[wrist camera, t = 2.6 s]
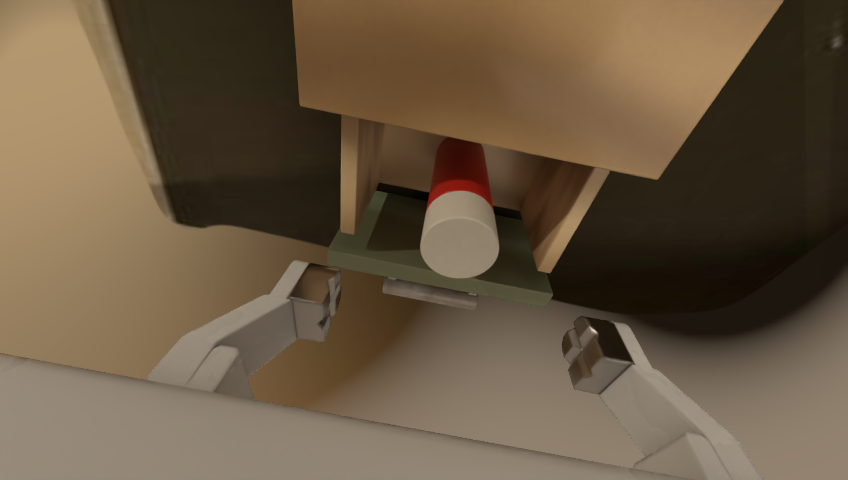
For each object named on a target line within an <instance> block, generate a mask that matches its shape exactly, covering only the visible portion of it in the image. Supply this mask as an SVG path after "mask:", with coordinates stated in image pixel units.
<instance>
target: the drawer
mask: <svg viewBox="0 0 848 480" xmlns="http://www.w3.org/2000/svg"><path fill="white" fill-rule="evenodd" d="M445 138H447V136H442V135H437V134H432V133H427V132H422V131H418V130H413V129H408V128H403V127H398V126H393V125H389V124H384V123H379V122H374V121H369V120H364V119H360V118H355V117H350V116H345V115H341V227H340V229H339V230H338V232H337V234H336V236H335V238H334V239H333V241H332V243H331V245H330V246H329V248H328V250H327V255H328V256H327V258H328V265H330V266H334V267H340V268H345V269H350V270H356V271H360V272H366V273H370V274H376V275H381V276H385V280H384V284H383V293H387V294H392V295H397V296H402V297H407V298H413V299H418V300H423V301H428V302H433V303H438V304H444V305H449V306H454V307H459V308H464V309H469V310H475V309H476V306H477V302H478V295H484V296H489V297H494V298H499V299H505V300H510V301H514V302H519V303H525V304H530V305H535V306H540V307H545V306H546V305H547V303H548V302H549V300H550V299H551V297H552V296H553V293H552V289H551V286H550V283H549V280H548V277H547V274H546V273H551V271H552V269H553V268H554V266H555V264H556V263H557V261H558V259H559V257H560V256H561V254H562V252H563V251H564V249H565V247H566V246H567V244H568V242H569V240H570V239H571V237H572V235H573V234H574V232H575V230H576V229H577V227H578V225H579V223H580V222H581V220H582V218H583V217H584V215H585V213H586V212H587V210H588V208H589V206H590V205H591V203H592V201H593V200H594V198H595V196H596V195H597V193H598V191H599V189H600V188H601V186H602V184H603V183H604V181H605V179H606V178H607V176H608V174H609V172H610V171H611V170H606V169H601V168H596V167H591V166H586V165H582V164H577V163H572V162H567V161H562V160H557V159H553V158H548V157H543V156H538V155H533V154H529V153H524V152H519V151H514V150H509V149H504V148H500V147H495V146H490V145H485V144H482V146H483V149H484V153H485V159H486V166H487V172H488V178H489V184H490V191H491V197H492V203H493V206H498V207H503V208H508V209H513V210H518V211H520V213H521V217H522V220H519V219H514V218H509V217H504V216H499V215H495V222H496V228H497V234H498V240H499V254H498V257H497V259H496V261H495V262H494V264H493V265H492V266H491V267H490V268H489V269H488V270H486V271H485V272H483V273H481V274H479V275H477V276H474V277H470V278H450V277H446V276H443V275H441V274H439V273H437V272H435V271H434V270H432V269H431V268H430V267H429V266H428V265H427V264H426V262H425V261H424V259H423V257H422V255H421V250H420V243H421V237H422V232H423V226H424V220H425V215H426V209H427V203H428V201H425V200H420V199H415V198H410V197H405V196H400V195H395V194H390V193H385V192H380V191H376V189H377V186H378V184H379V182H380V183H385V184H389V185H394V186H399V187H404V188H409V189H414V190H419V191H424V192H430V187H431V181H432V175H433V170H434V164H435V158H436V153H437V149H438V147H439V145H440V144H441V142H442V141H443V140H444V139H445Z"/></svg>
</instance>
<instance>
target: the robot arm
mask: <svg viewBox="0 0 848 480" xmlns="http://www.w3.org/2000/svg"><path fill="white" fill-rule="evenodd" d="M340 280H341V270H340V269H336V268H332V267H327V266H323V265H318V264H313V263H307V262H303V261H298V260H295V261H293V262H292V263H291V265H290V266H289V267H288V269H287V270H286V272H285V273H284V275H283V276H282V278H281V279H280V280H279V282H278V283H277V285H276V286H275V287H274V289H273V290H272V292H271V293H270V295H262V296H260V297H259V298H257V299H255V300H253V301H251V302H249V303H247V304H245V305H243V306H241V307H239V308H237V309H235V310H233V311H231V312H229V313H227V314H225V315H223V316H221V317H219V318H217V319H215V320H213V321H211V322H209V323H207V324H205V325H204V326H201V327H199V328H198V329H195V330H194V331H192V332H190V333H188V334H186V335H184V336H182V337H181V338H180V340H179V341H178V342H177V343H176V344H175V345H174V346H173V348H172V349H171V350H170V351H169V352H168V353H167V354H166V356H165V357H164V358H163V359H162V360H161V361H160V363H159V364H158V365H157V366H156V367H155V368H154V369H153V370H152V371H151V373H150V374H149V375H148V376H147V377H146V378H145V379H138V378H132V377H127V376H121V375H116V374H110V373H105V372H100V371H94V370H89V369H83V368H78V367H72V366H67V365H62V364H56V363H50V362H45V361H40V360H35V359H29V358H23V357H18V356H13V355H8V354H2V353H0V480H763V478H762V477H761V475H760V474H759V472H758V470H757V469H756V467H755V466H754V464H753V463H752V461H751V460H750V458H749V457H748V455H747V454H746V452H745V451H744V449H743V447H742V446H741V444H740V443H739V442H738V440H737V439H736V438H734V436H732V435H731V434H730V433H729V432H728V431H727V430H726V429H724V428H723V427H722V426H721V425H720V424H719V423H718V422H716V421H715V420H714V419H713V418H712V417H711V416H710V415H708V414H707V413H706V412H705V411H704V410H703V409H702V408H700V407H699V406H698V405H697V404H696V403H695V402H693V401H692V400H691V399H690V398H689V397H688V396H687V395H685V394H684V393H683V392H682V391H681V390H680V389H679V388H678V387H676V386H675V385H674V384H673V383H672V382H671V381H670V380H668V379H667V378H666V377H665V376H664V375H663V374H662V373H660V372H659V371H658V370H656V369H653V368H652V367H651V365H650V363H649V361H648V359H647V358H646V356H645V354H644V352H643V350H642V349H641V347H640V345H639V343H638V341H637V339H636V338H635V336H634V334H633V332H632V330H631V329H630V327H629V326H627V325H626V324H622V323H617V322H609V321H606V320H600V319H595V318H589V317H584V316H580V317H578V318H577V319H576V320H575V321H574V326H575V328H573V329H571V330H569V331H567V332H566V334H565V335H564V337H563V342H562V351H563V355H564V358H565V359H566V360H567V361H568V362H569V364H570V367H569V369H568V371H569V375H570V378H571V381H572V384H573V387H574V389H575V390H580V391H584V392H589V393H594V394H599V397H600V398H601V399H602V401H603V402H604V403H605V405H606V406H607V407H608V408H609V410H610V411H611V412H612V414H613V415H614V416H615V417H616V419H617V420H618V421H619V423H620V424H621V425H622V427H623V428H624V429H625V430H626V432H627V433H628V434H629V436H631V438H632V439H633V441H634V442H635V443H636V445H637V446H638V447H639V449H640V450H641V451H642V452H643V454H644V455H645V456H646V457H645V458H643V459H641V460H640V461H638V462H636V463H635V465H634V466H633V468H634V469H631V468H625V467H620V466H615V465H609V464H604V463H598V462H593V461H587V460H582V459H576V458H571V457H565V456H559V455H555V454H548V453H543V452H538V451H533V450H527V449H522V448H516V447H511V446H506V445H505V446H504V445H500V444H495V443H488V442H484V441H478V440H472V439H467V438H462V437H456V436H451V435H445V434H440V433H434V432H429V431H423V430H417V429H412V428H407V427H401V426H396V425H390V424H385V423H379V422H374V421H368V420H363V419H357V418H352V417H346V416H341V415H336V414H330V413H325V412H319V411H314V410H308V409H303V408H297V407H292V406H286V405H280V404H275V403H270V402H264V401H259V400H253V399H254V396H253V393H252V390H251V387H250V384H249V381H248V377H250V376H251V375H252V374H253V373H255V372H256V371H257V370H258V369H260V368H261V367H262V366H264V365H265V364H266V363H267V362H269V361H270V360H271V359H272V358H274V357H275V356H276V355H277V354H279V353H280V352H281V351H283V350H284V349H285V348H286V347H288V346H289V345H290V344H291V343H293V342H294V341H295V340H296V339H297V338H301V339H308V340H315V341H320V342H323V341H324V339H325V337H326V334H327V332H328V330H329V327H330V317H331V316H333V315H335V313H336V311H337V308H338V305H339V301H340V297H341V286H340V285H339V282H340Z"/></svg>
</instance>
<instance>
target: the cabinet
mask: <svg viewBox="0 0 848 480" xmlns="http://www.w3.org/2000/svg"><path fill="white" fill-rule="evenodd" d="M783 1H784V0H292V4H293V17H294V31H295V45H296V59H297V73H298V86H299V100H300V106H302V107H307V108H311V109H316V110H321V111H326V112H331V113H336V114H340V115H345V116H350V117H355V118H360V119H364V120H369V121H374V122H379V123H384V124H389V125H393V126H398V127H403V128H408V129H413V130H418V131H422V132H427V133H432V134H437V135H442V136H447V137H451V138H456V139H461V140H466V141H471V142H475V143H480V144H485V145H490V146H495V147H500V148H504V149H509V150H514V151H519V152H524V153H529V154H533V155H538V156H543V157H548V158H553V159H557V160H562V161H567V162H572V163H577V164H582V165H586V166H591V167H596V168H601V169H606V170H611V171H615V172H620V173H625V174H630V175H635V176H640V177H644V178H649V179H654V180H657V179H659V177H660V176H661V174H662V173H663V171H664V170H665V169H666V167H667V166H668V164H669V163H670V162H671V160H672V159H673V157H674V156H675V154H676V153H677V152H678V150H679V149H680V147H681V146H682V144H683V143H684V142H685V140H686V139H687V137H688V136H689V135H690V133H691V132H692V130H693V129H694V127H695V126H696V125H697V123H698V122H699V120H700V119H701V117H702V116H703V115H704V113H705V112H706V110H707V109H708V108H709V106H710V105H711V103H712V102H713V100H714V99H715V98H716V96H717V95H718V93H719V92H720V90H721V89H722V88H723V86H724V85H725V83H726V82H727V81H728V79H729V78H730V76H731V75H732V73H733V72H734V71H735V69H736V68H737V66H738V65H739V64H740V62H741V61H742V59H743V58H744V56H745V55H746V54H747V52H748V51H749V49H750V48H751V46H752V45H753V44H754V42H755V41H756V39H757V38H758V37H759V35H760V34H761V32H762V31H763V29H764V28H765V27H766V25H767V24H768V22H769V21H770V19H771V18H772V17H773V15H774V14H775V12H776V11H777V10H778V8H779V7H780V5H781V4H782V2H783Z"/></svg>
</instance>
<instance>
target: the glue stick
mask: <svg viewBox="0 0 848 480" xmlns="http://www.w3.org/2000/svg"><path fill="white" fill-rule="evenodd" d="M420 250H421V255H422V257H423V259H424V261H425V262H426V264H427V265H428V266H429V267H430V268H431V269H432V270H434V271H435V272H437V273H439V274H441V275H443V276H446V277H450V278H470V277H474V276H477V275H479V274H481V273H483V272H485V271H486V270H488V269H489V268H490V267H491V266H492V265H493V264H494V262H495V261H496V259H497V257H498V254H499V240H498V234H497V228H496V222H495V215H494V209H493V203H492V197H491V191H490V184H489V178H488V172H487V166H486V159H485V153H484V149H483V146H482V144H480V143H475V142H471V141H466V140H461V139H456V138H451V137H447V138H445V139H444V140H443V141H442V142H441V144H440V145H439V147H438V149H437V153H436V158H435V164H434V170H433V175H432V181H431V187H430V192H429V198H428V203H427V209H426V215H425V220H424V226H423V232H422V237H421V243H420Z"/></svg>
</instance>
